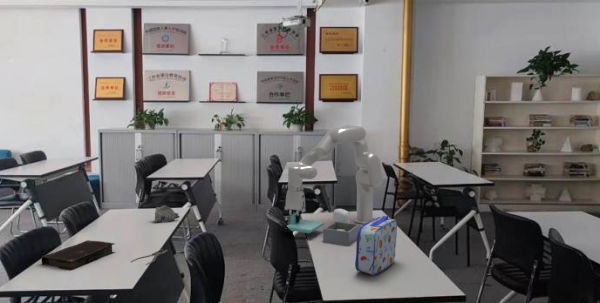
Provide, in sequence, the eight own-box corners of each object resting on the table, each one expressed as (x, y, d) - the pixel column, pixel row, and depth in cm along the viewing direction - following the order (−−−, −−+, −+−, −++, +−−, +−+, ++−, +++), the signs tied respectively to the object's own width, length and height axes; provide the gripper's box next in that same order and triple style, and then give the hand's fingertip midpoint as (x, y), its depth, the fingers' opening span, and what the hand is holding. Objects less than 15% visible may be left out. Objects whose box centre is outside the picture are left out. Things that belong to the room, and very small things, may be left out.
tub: (334, 233, 246) (335, 221, 245) (359, 237, 240) (359, 224, 239) (323, 242, 232) (323, 228, 231) (348, 246, 226) (349, 232, 225)
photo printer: (332, 229, 254) (332, 208, 253) (337, 228, 257) (338, 206, 256) (345, 233, 247) (345, 211, 245) (350, 232, 249) (351, 210, 248)
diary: (41, 266, 199) (40, 255, 198) (87, 249, 222) (86, 239, 221) (72, 272, 192) (72, 260, 191) (116, 253, 215) (116, 243, 214)
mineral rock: (180, 220, 273) (180, 203, 272) (171, 224, 263) (170, 208, 262) (161, 218, 277) (160, 202, 276) (151, 223, 266) (150, 206, 265)
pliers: (128, 262, 200) (149, 248, 220) (128, 264, 200) (149, 250, 220) (148, 264, 199) (168, 249, 219) (148, 265, 199) (168, 250, 219)
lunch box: (377, 256, 211) (378, 210, 209) (399, 260, 206) (400, 213, 203) (352, 275, 188) (352, 223, 185) (375, 280, 182) (376, 227, 180)
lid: (299, 223, 256) (299, 210, 255) (324, 226, 249) (324, 213, 248) (285, 231, 241) (285, 217, 240) (311, 234, 234) (311, 220, 233)
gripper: (311, 188, 245) (311, 222, 247) (285, 186, 252) (285, 218, 254) (305, 191, 238) (305, 225, 240) (278, 188, 246) (278, 221, 248)
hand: (294, 221), depth 247 cm, fingers closed on lid, 2 cm apart
